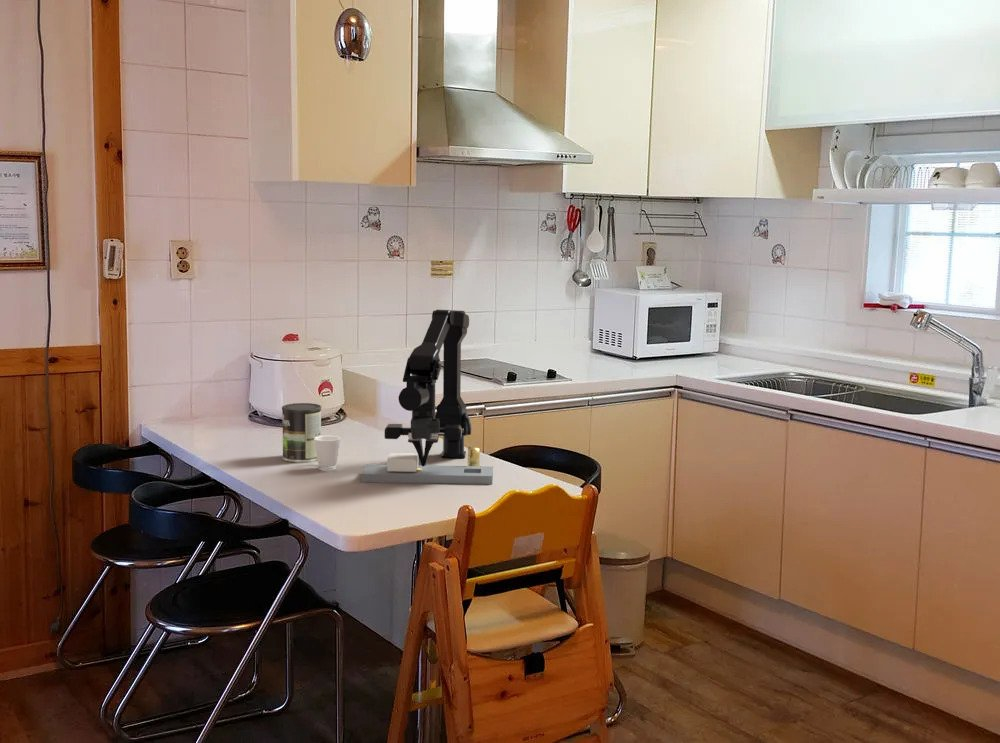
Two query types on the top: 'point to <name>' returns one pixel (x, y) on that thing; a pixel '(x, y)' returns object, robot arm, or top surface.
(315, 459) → the coffee can
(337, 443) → the cup
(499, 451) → the top surface
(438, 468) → the board
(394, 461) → the cover
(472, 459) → the pin
